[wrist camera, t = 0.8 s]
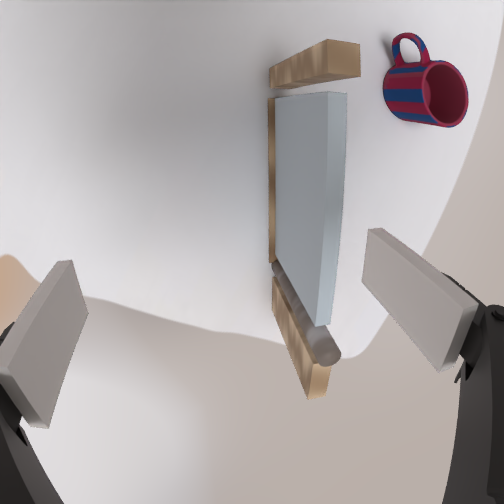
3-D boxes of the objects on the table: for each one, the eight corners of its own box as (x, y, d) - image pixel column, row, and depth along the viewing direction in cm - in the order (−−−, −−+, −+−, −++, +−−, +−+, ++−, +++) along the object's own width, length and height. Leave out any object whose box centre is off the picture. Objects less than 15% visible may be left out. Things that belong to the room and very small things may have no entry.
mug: (394, 128, 31) (433, 136, 25) (361, 44, 27) (398, 33, 20) (434, 111, 31) (474, 117, 25) (407, 32, 26) (445, 24, 20)
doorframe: (267, 68, 27) (330, 35, 13) (291, 69, 27) (371, 42, 14) (268, 310, 38) (306, 409, 24) (288, 307, 38) (333, 403, 25)
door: (298, 252, 35) (347, 321, 23) (275, 254, 34) (314, 326, 23) (301, 99, 28) (367, 95, 17) (274, 98, 28) (327, 91, 16)
